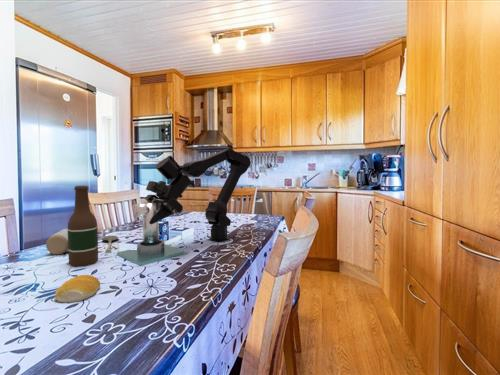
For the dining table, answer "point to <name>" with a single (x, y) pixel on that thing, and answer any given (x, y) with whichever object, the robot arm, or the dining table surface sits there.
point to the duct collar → (150, 252)
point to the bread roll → (77, 289)
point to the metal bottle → (147, 221)
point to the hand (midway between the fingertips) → (146, 222)
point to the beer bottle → (82, 231)
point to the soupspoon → (109, 238)
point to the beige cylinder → (58, 242)
